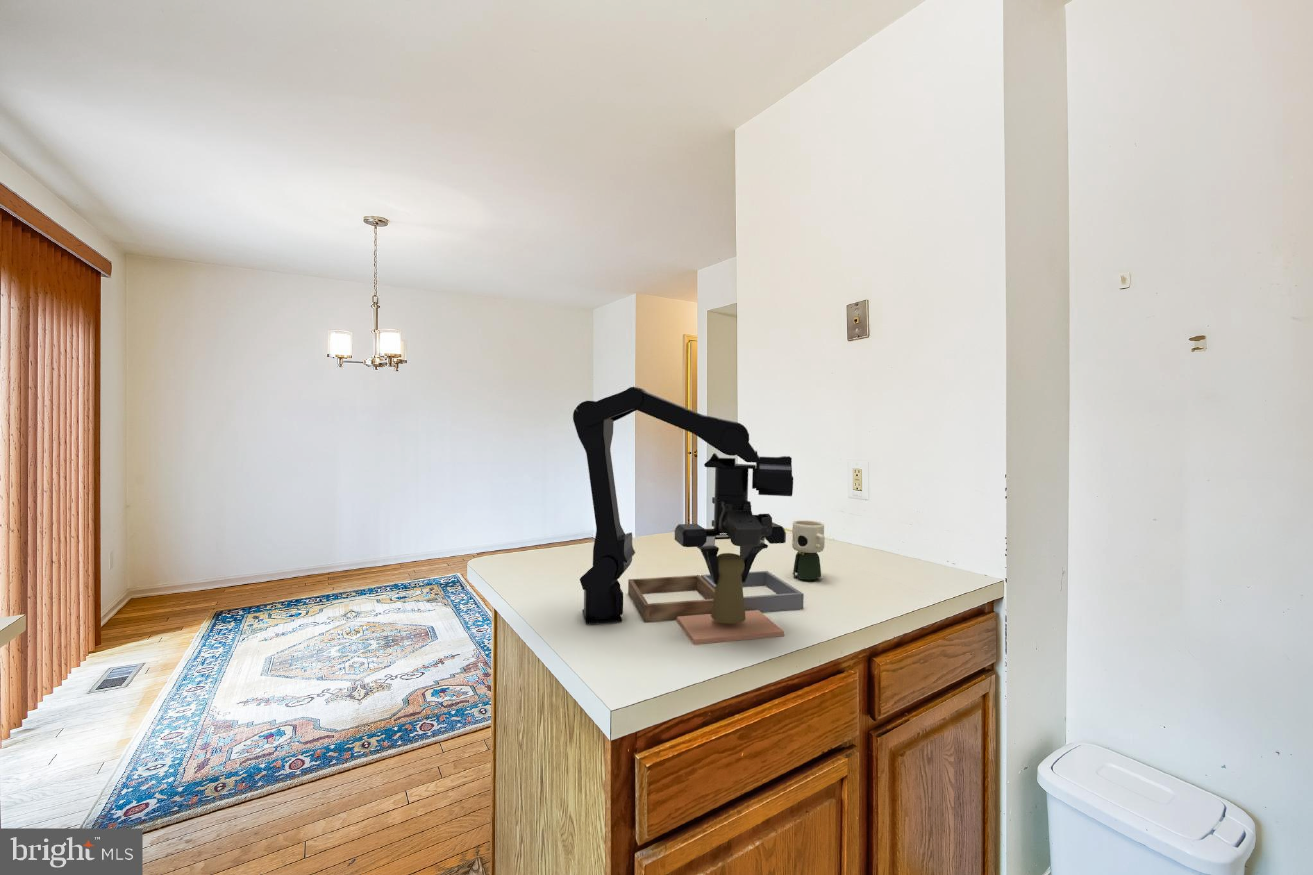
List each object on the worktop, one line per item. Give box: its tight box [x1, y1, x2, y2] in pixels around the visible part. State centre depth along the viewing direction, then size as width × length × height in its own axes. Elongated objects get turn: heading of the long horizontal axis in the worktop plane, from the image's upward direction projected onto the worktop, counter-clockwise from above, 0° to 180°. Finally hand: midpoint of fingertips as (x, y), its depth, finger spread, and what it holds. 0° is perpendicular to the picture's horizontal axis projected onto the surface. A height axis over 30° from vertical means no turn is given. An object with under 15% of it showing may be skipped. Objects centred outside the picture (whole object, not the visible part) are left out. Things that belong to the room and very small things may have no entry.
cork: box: [711, 552, 746, 624], centre depth 90 cm, size 6×6×11 cm
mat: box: [676, 610, 785, 645], centre depth 90 cm, size 16×10×1 cm, turn 104°
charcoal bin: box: [700, 570, 805, 613], centre depth 106 cm, size 16×16×3 cm
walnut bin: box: [627, 574, 715, 623], centre depth 102 cm, size 16×16×3 cm
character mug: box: [791, 519, 826, 581], centre depth 120 cm, size 11×7×13 cm, turn 22°
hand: (728, 582), depth 90 cm, fingers closed on cork, 5 cm apart
